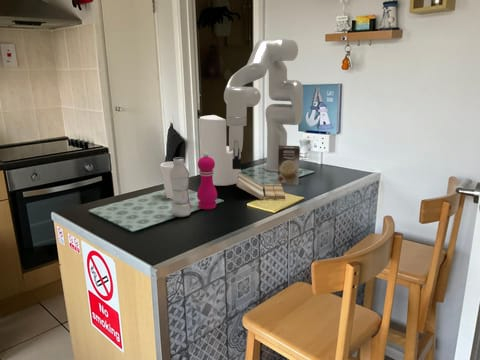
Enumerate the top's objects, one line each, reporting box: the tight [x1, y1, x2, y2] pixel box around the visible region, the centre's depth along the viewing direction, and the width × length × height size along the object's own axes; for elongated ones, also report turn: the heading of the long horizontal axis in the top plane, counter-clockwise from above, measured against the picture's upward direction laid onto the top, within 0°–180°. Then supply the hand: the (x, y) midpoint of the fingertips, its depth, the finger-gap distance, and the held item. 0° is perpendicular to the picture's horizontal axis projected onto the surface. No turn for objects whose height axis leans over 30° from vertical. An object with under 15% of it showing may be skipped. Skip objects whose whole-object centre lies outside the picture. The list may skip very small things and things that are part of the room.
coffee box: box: [276, 145, 301, 186], centre depth 171 cm, size 9×6×16 cm
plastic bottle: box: [170, 156, 192, 218], centre depth 134 cm, size 6×7×20 cm
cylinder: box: [199, 114, 242, 186], centre depth 175 cm, size 17×17×28 cm
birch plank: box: [236, 171, 265, 201], centre depth 158 cm, size 16×11×2 cm
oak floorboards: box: [263, 183, 286, 200], centre depth 159 cm, size 16×7×2 cm, turn 179°
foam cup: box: [159, 161, 186, 200], centre depth 155 cm, size 10×9×13 cm
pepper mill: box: [196, 153, 218, 210], centre depth 142 cm, size 7×7×20 cm
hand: (236, 168), depth 156 cm, fingers closed
